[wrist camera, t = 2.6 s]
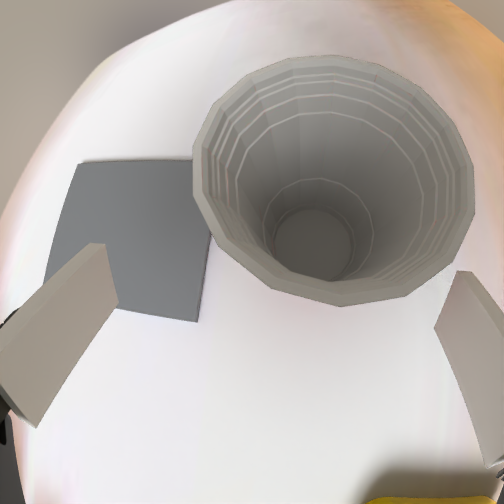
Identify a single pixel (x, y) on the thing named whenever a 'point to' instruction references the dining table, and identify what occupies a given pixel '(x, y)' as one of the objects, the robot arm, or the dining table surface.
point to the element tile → (433, 500)
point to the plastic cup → (334, 180)
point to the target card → (139, 233)
